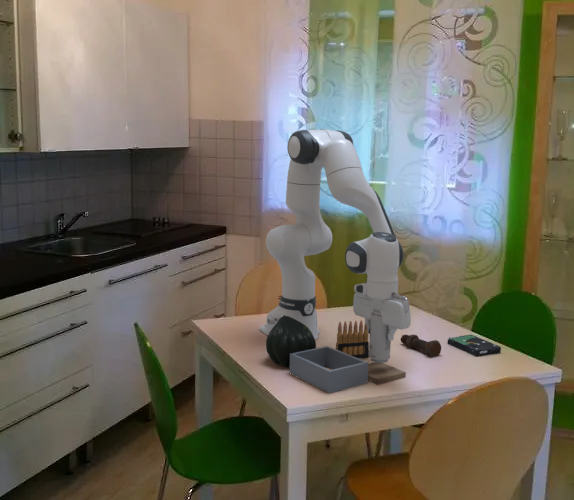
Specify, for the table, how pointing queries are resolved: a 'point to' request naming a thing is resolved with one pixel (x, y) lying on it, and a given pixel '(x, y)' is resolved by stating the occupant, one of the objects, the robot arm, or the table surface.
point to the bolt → (422, 344)
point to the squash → (288, 340)
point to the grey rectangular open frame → (342, 376)
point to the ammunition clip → (353, 340)
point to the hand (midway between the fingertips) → (380, 336)
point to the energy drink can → (378, 339)
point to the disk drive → (474, 345)
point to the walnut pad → (383, 373)
